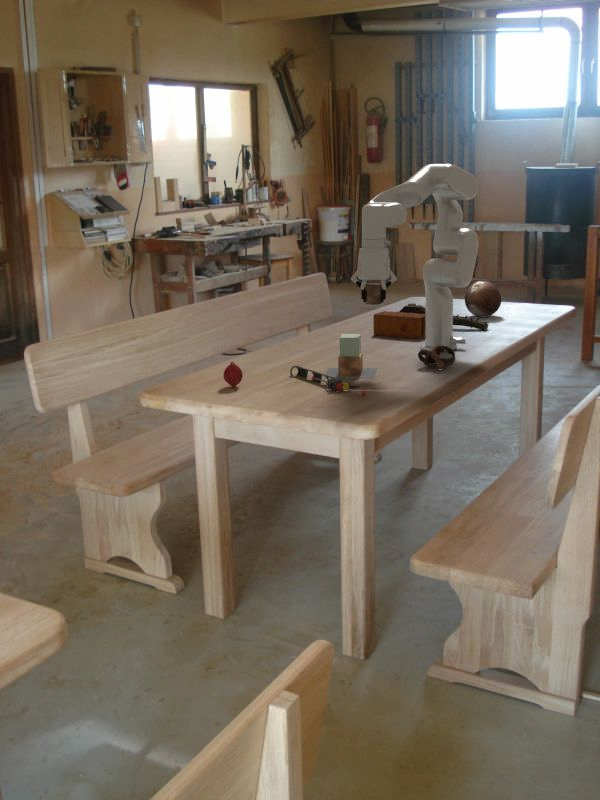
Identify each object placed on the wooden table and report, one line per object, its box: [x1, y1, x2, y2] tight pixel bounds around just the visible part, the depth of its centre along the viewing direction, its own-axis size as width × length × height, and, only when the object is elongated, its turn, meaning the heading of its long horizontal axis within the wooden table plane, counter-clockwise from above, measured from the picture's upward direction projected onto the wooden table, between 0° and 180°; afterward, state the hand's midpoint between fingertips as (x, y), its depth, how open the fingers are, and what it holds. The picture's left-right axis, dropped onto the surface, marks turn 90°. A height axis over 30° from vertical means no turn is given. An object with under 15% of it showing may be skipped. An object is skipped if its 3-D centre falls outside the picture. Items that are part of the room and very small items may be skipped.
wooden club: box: [398, 303, 489, 331], centre depth 367 cm, size 39×5×10 cm, turn 71°
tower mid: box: [339, 333, 362, 357], centre depth 297 cm, size 6×6×6 cm
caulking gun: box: [289, 365, 367, 398], centre depth 285 cm, size 4×37×10 cm
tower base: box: [337, 351, 364, 376], centre depth 298 cm, size 7×7×6 cm
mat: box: [322, 367, 379, 380], centre depth 299 cm, size 16×14×1 cm
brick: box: [372, 310, 425, 340], centre depth 357 cm, size 20×8×8 cm, turn 56°
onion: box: [223, 361, 244, 388], centre depth 286 cm, size 6×6×8 cm
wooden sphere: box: [464, 280, 503, 318], centre depth 388 cm, size 15×15×15 cm
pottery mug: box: [417, 345, 456, 370], centre depth 304 cm, size 12×10×8 cm
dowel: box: [365, 283, 382, 306], centre depth 299 cm, size 5×5×6 cm
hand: (373, 301), depth 300 cm, fingers closed on dowel, 5 cm apart
